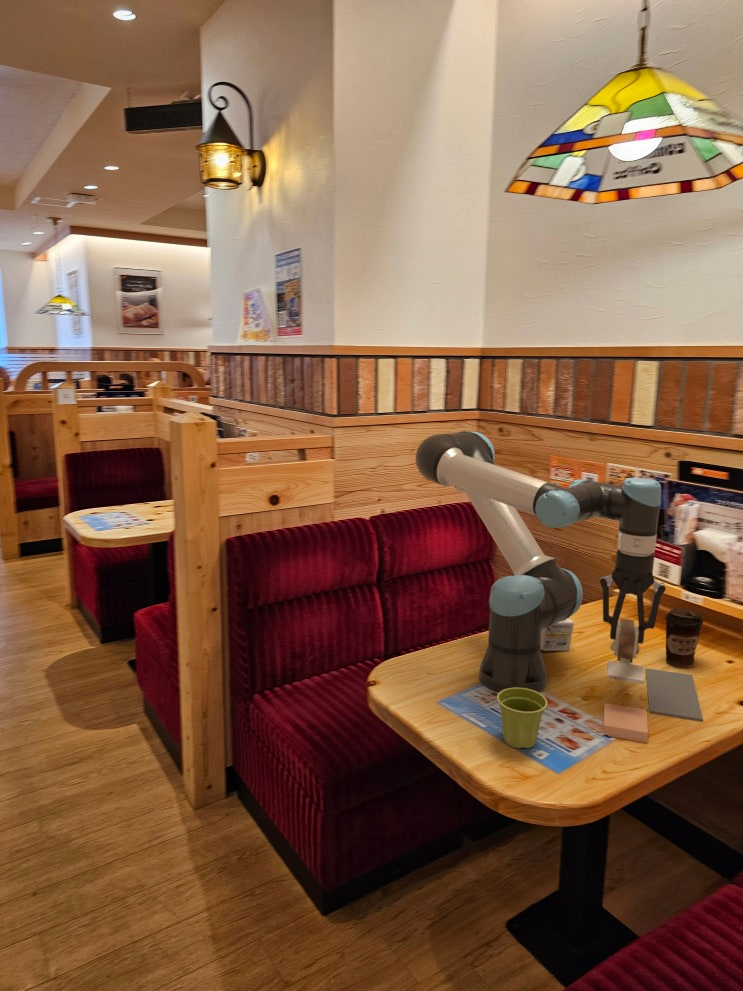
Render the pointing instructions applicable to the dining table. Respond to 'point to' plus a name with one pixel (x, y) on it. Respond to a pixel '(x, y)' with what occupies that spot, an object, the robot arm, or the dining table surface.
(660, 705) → the mat
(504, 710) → the plant pot
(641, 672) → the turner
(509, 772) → the dining table surface
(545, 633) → the container
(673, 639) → the coffee cup
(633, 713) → the tile
